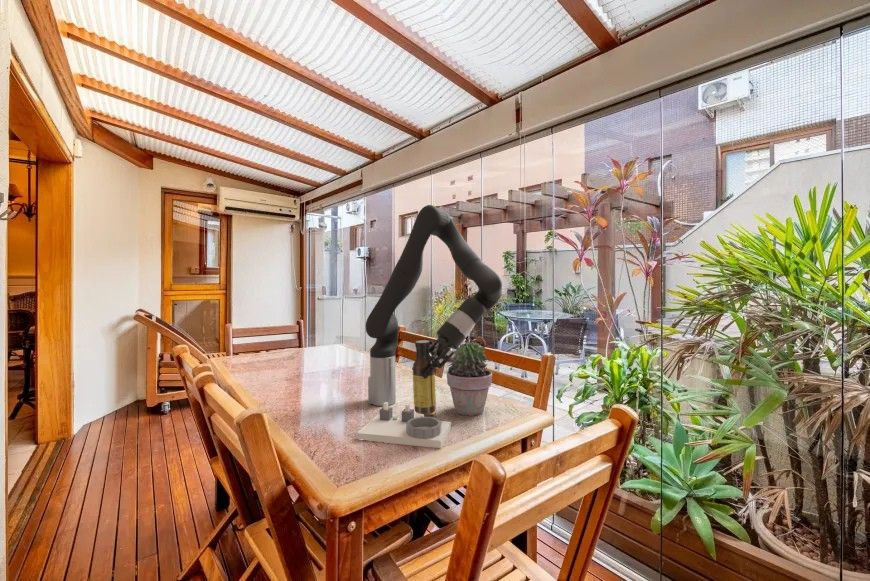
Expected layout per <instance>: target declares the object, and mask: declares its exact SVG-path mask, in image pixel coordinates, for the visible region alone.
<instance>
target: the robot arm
mask: <svg viewBox="0 0 870 581" xmlns="http://www.w3.org/2000/svg"><path fill="white" fill-rule="evenodd" d="M430 236H434V237H436V238H439V239H440V241H442V242H443V243H444V244H445V245H446V247H447V248H448V249H449V251H450V254H451V257H452V258H451V259H452V260H453V262H454V263H455V264H456V266H457V268H458V269H459V270H460V271H461V272H462V274H463V275H464V276H465V278H467V279H468V280H469V281H473V283H474V284H476V287H477V288H478V291H477V292H476V293H475V294H474V295H473V296H472V297H467V298H466V299H465V300H463V302H462V303H461V304H460V305H459V306H458V308H457V309H456V310H455V311H454V312H452V314H450V316H449V317H448V318H447V319H446V321H444V322H443V323H442V325H441V326H440V327H439V329H438V330H437V331H436V335H437V337H438V338H437V339H436V340H434V341H433V340H431V339H430V340H428V341H429V342H430V347H429V354H430V359H431V360H430V362H429V363H430V364H427V365H426V367H425V368H424V369H423V370H422V371H421V373H420V375H421V376H422V377H423V378H425V379H426V378H427V377H428V376H429V375H430V374H431V373H432V371H433V370H434V371H435V370H436V369H442V367H444V365H445V364H446V363H447V362H448V361H450V360H451V358H452V357H453V356H454V355H455V354H454V350H456V349H457V348H458V347H459V348H460V344H461V345H462V343H463V342H464V340H466V339H467V337H468V336H469V335H470V333H471V332H472V330H473V329H474V327H475V326H476V325H477V324H478V323H479V321H480V320H481V319H482V318H483V316H484V314H486V313H487V312H489V310H492V308H493V307H494V306H495V305H497V303H498V302H499V301H500V299H501V296H502V295H503V294H502V292H503V282H502V279H501V278H500V276H499V274H497V272H496V271H494V270H493V269H492V268H491V267H489V266H488V265H487V264H485V263H484V262H483V260H482V258H481V257H479V255H478V254H477V253H476V252H475V251H474V250H473V248H472V247H471V246H470V245H469V244H468V243H467V241H466V240H465V239H464V237H463V235H462V234H461V233H460V231H459V230H458V227H457V226H456V224H455V222H454V220H453V219H452V217H451V215H450V214H449V213H448V211H446V210H444V209H442V208H439V207H437V206H435V205H431V204H427V205H425V206H423V207H421V209H420V210H419V212H418V214H417V215H416V217H415V220H414V223H413V225H412V228H411V230H410V233H409V237H408V239H407V241H406V244H405V246H404V248H403V250H402V251H401V255H400V257H399V259H398V260H397V262H396V264H395V267H394V268H393V270H392V272H391V274H390V276H389V279H388V281H387V283H386V285H385V286H384V289H383V291H382V293H381V294H380V297H379V299H378V301H377V302H376V304H375V306H374V307H373V309H372V310H371V312H370V313H369V315H368V317H367V319H366V321H365V332H366V333H367V336H369V337H370V338H372V339H376V340H375V343H374V344H373V345H372V347H371V348H370V349H369V357H370V358H369V368H370V371H369V373H370V375H369V377H368V379H367V386H368V388H367V391H368V392H367V397H368V398H367V401H368V402H367V403H369V404H370V405H372V404H373V406H376V407H377V406H379V407H383V403H385V402H388V406H391V405H394V404H395V403H396V400H397V398H396V397H397V395H396V394H397V393H396V392H397V388H396V387H397V386H396V380H397V379H396V374H397V373H396V370H397V369H396V350H397V348H398V341H399V340H398V339H399V324H398V322H399V321H398V319H397V317H396V315H395V314H394V312H395V311H396V309H397V308H398V306H399V305H400V304H401V303H402V302H403V301H404V300H405V299H406V298H407V297H408V296H409V295H410V294H411V292H412V291H413V290H414V288H415V286H416V285H417V283H418V281H419V279H420V277H421V274H422V273H423V262H424V261H423V258H424V250H425V247H426V245H427V243H428V241H429V239H430ZM411 369H412V371H413V366H412V368H411ZM369 404H368V405H369Z"/></svg>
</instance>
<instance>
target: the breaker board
mask: <svg viewBox="0 0 870 581" xmlns="http://www.w3.org/2000/svg"><path fill="white" fill-rule="evenodd" d="M404 406H405V407H404V409H402V411H401V417H397V416H393V407H389V405H388V402H385V403H383V406H382V408H380V410H379V415H375V417H373V418H372V419H371V420H370V421H369V422H368V423H367V424H365V425H364V426H363V427H362V428H361V429H360V430H359V431H358V432H357V436H356V438H357V439H363V440H369V441H368V442H372V441H377V442H376V443H382V442H384V444H395V445H404V446H415V447H422V448H423V447H425V448H433V449H442V447H443V445H444V443H445V442H446V439H447V437H448V435H449V433H450V432H451V429H452V422H451V421H443V420H440V419H439V418H437V409H436V410H435V411H434V412H433V413H431V414H423V416H417V417H415V409H414V408H411V404H410V403H406V404H405V405H404Z"/></svg>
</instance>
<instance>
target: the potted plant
mask: <svg viewBox="0 0 870 581" xmlns="http://www.w3.org/2000/svg"><path fill="white" fill-rule="evenodd" d="M486 347H487V342H486V340H485V339H484V338H483V337H482V336H480V335H479V336H476V337H475V339H474V340H473V341H469V339H468V340H467V341H465V342H464V343H463V344H462V343H461V344H460V345H459V347H458V348H457V349H455V350H453V352H454V354H453V357H451V358H450V360H451V361H452V363H450V364H449V365H448V369H447V371H445V373H446V384H447V385H448V387H449V389H450V394H451V398H452V402H453V407H454V410H455V413H456V414H458V413H459V415H461V414H462V415H463V416H467V415H473V416H478V415H482V413H484V412H485V408H486V403H487V397H488V393H489V389H490V387H491V386H492V382H493V381H492V380H493V371H490V370H488V367H487V366H488V363H486V362H487V360H488V362H489V363H491V361H490V360H489V359H488V358H487V356H488V355H489V354H490V353H487V354H484V353H485V350H484V349H485V348H486ZM462 415H461V416H462Z"/></svg>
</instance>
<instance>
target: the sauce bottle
mask: <svg viewBox="0 0 870 581" xmlns="http://www.w3.org/2000/svg"><path fill="white" fill-rule="evenodd" d="M429 341H430V340H425V339H424V340H416V341H415V343H414V345H415V351H416V352H415V354H416V355H415V356H416V357H415V358H416V359H415V361H414V362H413V364H412V367H413V370H412V390H413V406H414V408H413V409H414V413H415V412H416V413H417V414H419V415H424V414H431V413H433V412H434V411H435V410H436V411H437V407H436V404H437V401H436V400H437V395H436V394H437V393H436V373H435V369H434V370H433V371H432V373H431V374H430V375H429V376H428V377H427V378H426V379H425V378H423V377H422V376H421V375H420V373H421V371H422V370H423V369H424V368H425V367H426V365H427V364H430V363H429V362H430V360H431V359H430V354H429V347H430V342H429Z"/></svg>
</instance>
